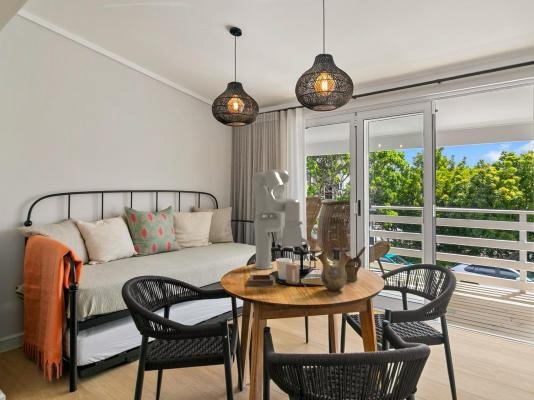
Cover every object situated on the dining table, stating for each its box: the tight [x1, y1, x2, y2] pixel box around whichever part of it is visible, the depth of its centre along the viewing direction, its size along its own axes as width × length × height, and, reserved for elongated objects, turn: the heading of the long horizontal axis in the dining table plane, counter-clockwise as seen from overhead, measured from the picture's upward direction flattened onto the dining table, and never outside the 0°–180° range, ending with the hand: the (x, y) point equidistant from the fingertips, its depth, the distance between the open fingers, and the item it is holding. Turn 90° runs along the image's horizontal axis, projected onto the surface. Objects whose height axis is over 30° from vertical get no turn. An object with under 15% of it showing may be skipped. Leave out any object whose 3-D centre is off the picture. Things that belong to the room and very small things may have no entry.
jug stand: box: [246, 274, 277, 289], centre depth 170 cm, size 20×14×4 cm
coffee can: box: [332, 246, 351, 264], centre depth 195 cm, size 10×10×14 cm
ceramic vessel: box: [316, 238, 352, 292], centre depth 160 cm, size 16×9×25 cm, turn 82°
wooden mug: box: [345, 246, 366, 283], centre depth 178 cm, size 9×14×18 cm, turn 81°
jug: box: [285, 262, 300, 285], centre depth 169 cm, size 10×7×10 cm
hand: (291, 257), depth 170 cm, fingers open, 9 cm apart
